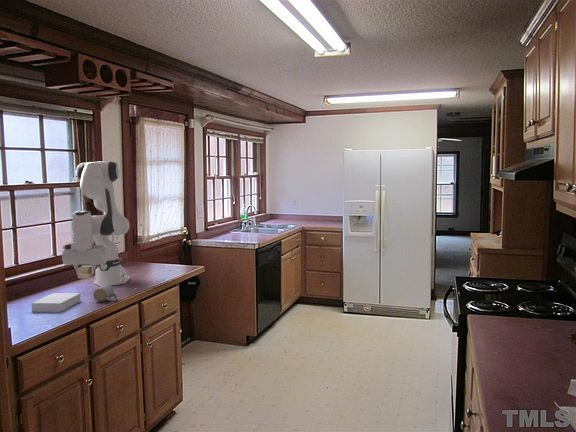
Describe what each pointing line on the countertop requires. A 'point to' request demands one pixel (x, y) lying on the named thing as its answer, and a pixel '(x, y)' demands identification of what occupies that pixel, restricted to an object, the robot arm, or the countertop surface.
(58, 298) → the grey platform
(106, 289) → the ceramic mug
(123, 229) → the robot arm
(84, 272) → the birch cube
